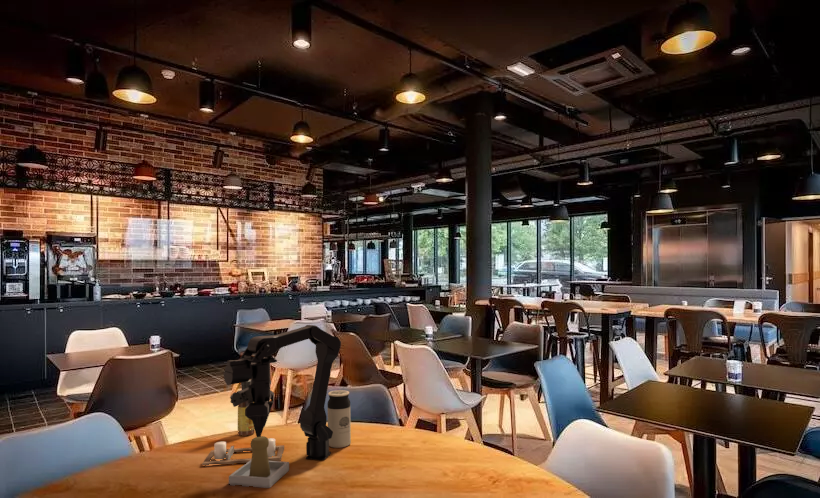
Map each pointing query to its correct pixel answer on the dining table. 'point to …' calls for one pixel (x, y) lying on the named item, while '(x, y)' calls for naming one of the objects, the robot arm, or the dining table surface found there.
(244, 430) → the sauce bottle
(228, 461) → the ladder
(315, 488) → the dining table surface
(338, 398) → the travel mug
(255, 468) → the cork
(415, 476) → the dining table surface
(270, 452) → the cylinder
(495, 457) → the dining table surface
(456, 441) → the dining table surface
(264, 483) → the tray
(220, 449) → the white short cylinder
